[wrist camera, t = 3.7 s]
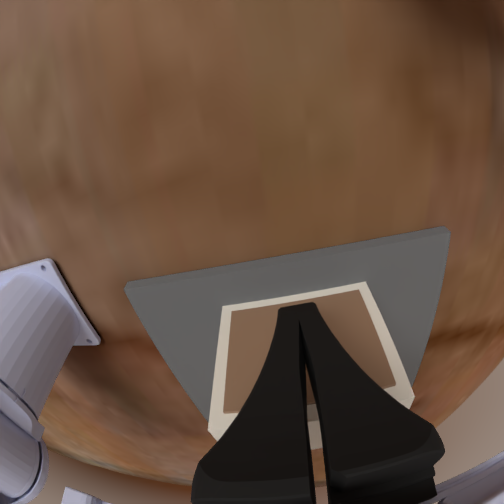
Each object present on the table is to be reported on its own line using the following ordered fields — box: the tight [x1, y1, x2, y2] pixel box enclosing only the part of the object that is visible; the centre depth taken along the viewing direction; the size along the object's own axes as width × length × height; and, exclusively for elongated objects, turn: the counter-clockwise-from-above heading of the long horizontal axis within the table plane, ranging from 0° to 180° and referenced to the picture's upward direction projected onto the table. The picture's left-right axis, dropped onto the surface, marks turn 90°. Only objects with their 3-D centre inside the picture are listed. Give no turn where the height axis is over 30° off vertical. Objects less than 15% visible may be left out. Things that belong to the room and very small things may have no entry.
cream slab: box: [208, 281, 415, 449], centre depth 14 cm, size 8×4×8 cm, turn 102°
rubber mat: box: [124, 226, 451, 423], centre depth 20 cm, size 20×18×1 cm
